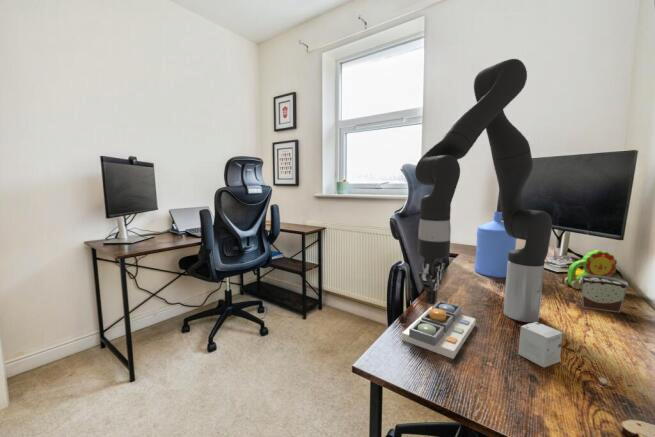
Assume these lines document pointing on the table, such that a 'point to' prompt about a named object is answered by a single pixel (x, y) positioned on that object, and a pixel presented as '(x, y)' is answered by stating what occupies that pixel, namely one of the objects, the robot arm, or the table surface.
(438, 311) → the orange button
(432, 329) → the sage green button
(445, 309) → the slate blue button
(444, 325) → the button panel
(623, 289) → the food container
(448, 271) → the table surface
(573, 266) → the toy lion
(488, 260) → the water jug
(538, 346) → the skincare box
